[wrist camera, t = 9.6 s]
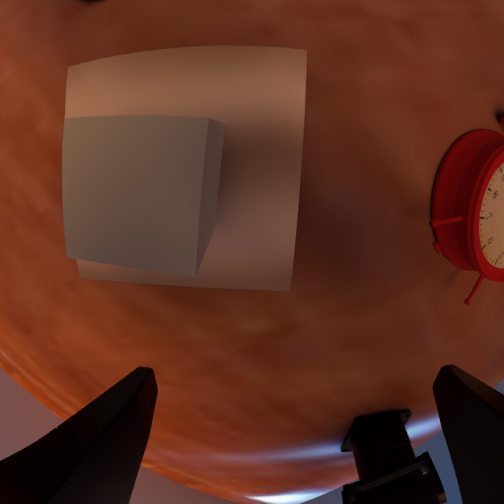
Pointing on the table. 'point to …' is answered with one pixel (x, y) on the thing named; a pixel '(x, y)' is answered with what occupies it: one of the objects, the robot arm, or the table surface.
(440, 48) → the table surface
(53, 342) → the table surface
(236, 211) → the maple block
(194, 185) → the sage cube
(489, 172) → the alarm clock
